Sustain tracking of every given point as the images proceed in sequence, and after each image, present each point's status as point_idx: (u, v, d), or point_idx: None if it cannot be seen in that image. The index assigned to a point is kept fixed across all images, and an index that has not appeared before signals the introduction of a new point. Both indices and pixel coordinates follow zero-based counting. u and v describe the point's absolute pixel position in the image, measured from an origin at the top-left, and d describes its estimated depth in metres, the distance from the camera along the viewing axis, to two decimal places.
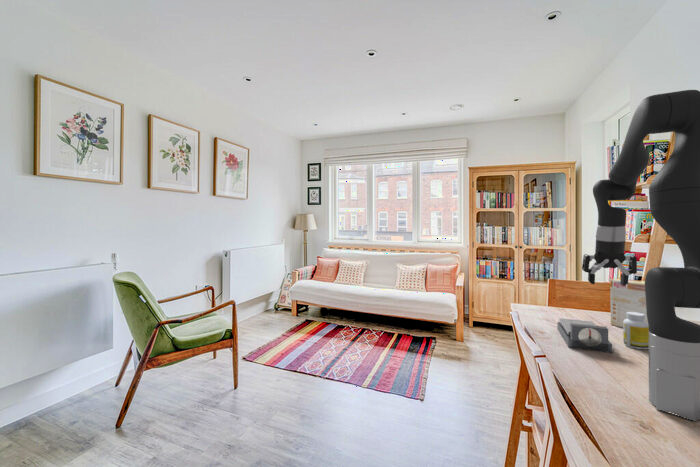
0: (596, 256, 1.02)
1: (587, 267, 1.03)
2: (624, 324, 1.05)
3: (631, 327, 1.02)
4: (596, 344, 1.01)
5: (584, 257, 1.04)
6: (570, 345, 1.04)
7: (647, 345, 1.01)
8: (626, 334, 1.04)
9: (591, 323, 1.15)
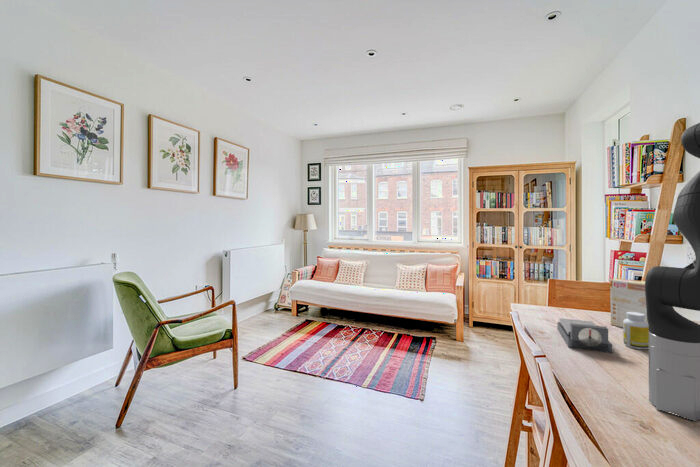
0: None
1: None
2: (624, 324, 1.05)
3: (631, 327, 1.02)
4: (596, 344, 1.01)
5: None
6: (570, 345, 1.04)
7: (647, 345, 1.01)
8: (626, 334, 1.04)
9: (591, 323, 1.15)
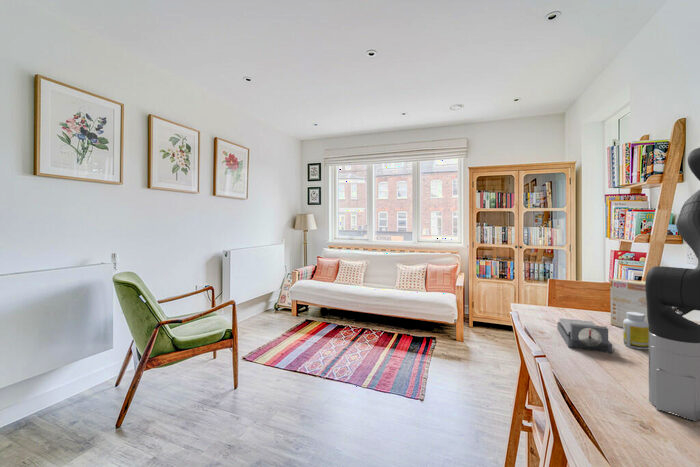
0: None
1: None
2: (624, 324, 1.05)
3: (631, 327, 1.02)
4: (596, 344, 1.01)
5: None
6: (570, 345, 1.04)
7: (647, 345, 1.01)
8: (626, 334, 1.04)
9: (591, 323, 1.15)
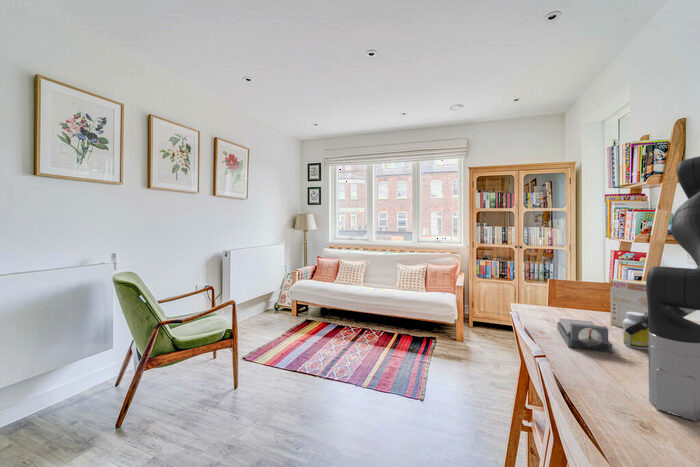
0: None
1: None
2: (624, 324, 1.05)
3: None
4: (596, 344, 1.01)
5: None
6: (570, 345, 1.04)
7: (647, 345, 1.01)
8: (626, 334, 1.04)
9: (591, 323, 1.15)
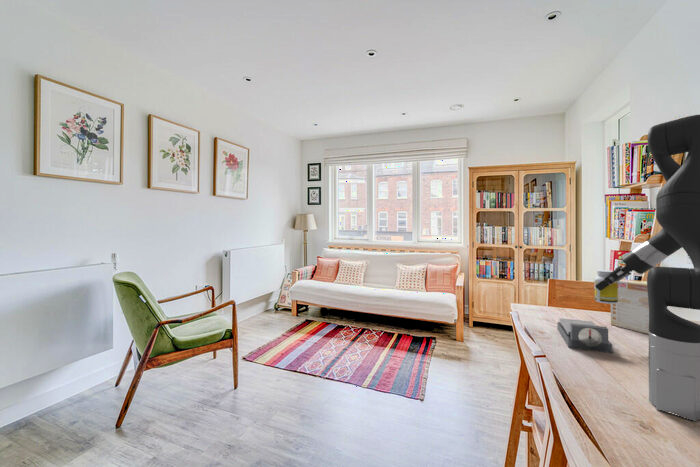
0: None
1: None
2: (595, 281, 1.10)
3: None
4: (596, 344, 1.01)
5: None
6: (570, 345, 1.04)
7: (615, 300, 1.05)
8: (597, 290, 1.09)
9: (591, 323, 1.15)
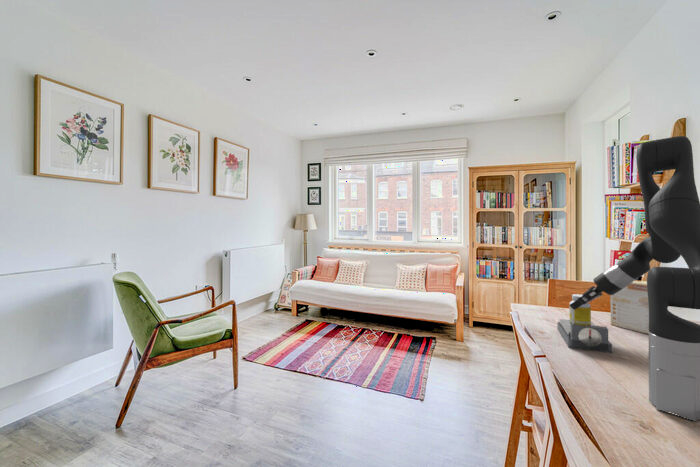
0: None
1: None
2: None
3: None
4: (596, 344, 1.01)
5: None
6: (570, 345, 1.04)
7: (588, 324, 1.10)
8: (571, 314, 1.14)
9: (591, 324, 1.15)
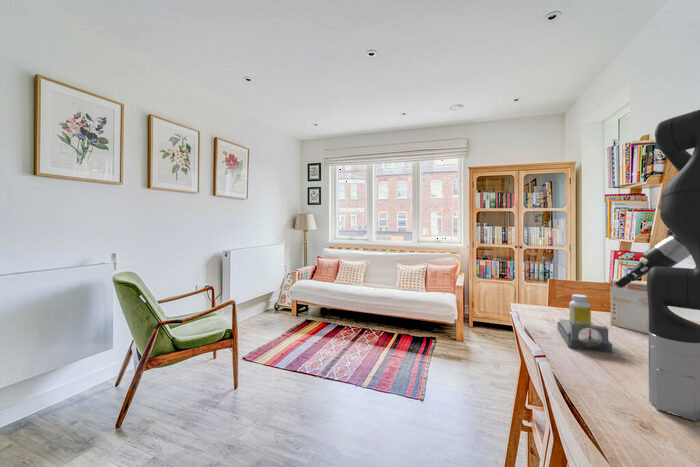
0: None
1: None
2: (570, 305, 1.14)
3: (575, 307, 1.12)
4: (596, 344, 1.01)
5: None
6: (570, 345, 1.04)
7: (588, 324, 1.10)
8: (571, 314, 1.14)
9: (591, 324, 1.15)
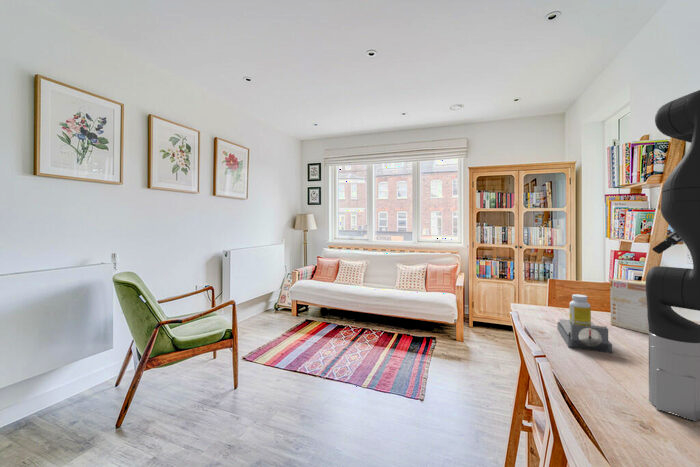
0: None
1: None
2: (570, 305, 1.14)
3: (575, 307, 1.12)
4: (596, 344, 1.01)
5: None
6: (570, 345, 1.04)
7: (588, 324, 1.10)
8: (571, 314, 1.14)
9: (591, 324, 1.15)
